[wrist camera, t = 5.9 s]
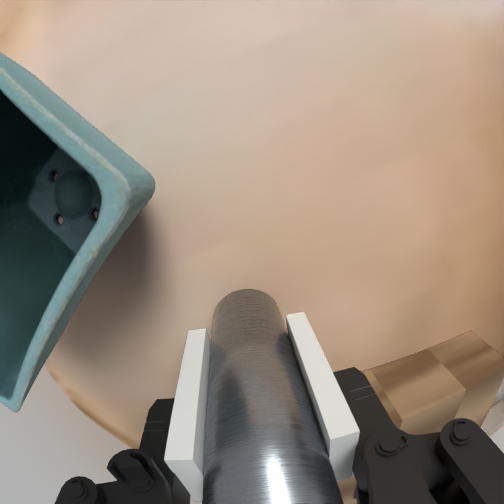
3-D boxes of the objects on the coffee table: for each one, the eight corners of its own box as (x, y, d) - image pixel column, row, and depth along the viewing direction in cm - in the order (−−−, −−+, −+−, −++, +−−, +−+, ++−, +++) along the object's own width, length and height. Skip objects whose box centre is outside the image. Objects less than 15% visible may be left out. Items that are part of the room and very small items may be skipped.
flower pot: (73, 76, 11) (-44, 24, 3) (195, 175, 13) (141, 192, 5) (-2, 208, 12) (-114, 251, 4) (98, 305, 15) (17, 418, 6)
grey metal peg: (206, 295, 14) (177, 601, 2) (276, 283, 14) (383, 576, 2) (220, 351, 15) (224, 607, 3) (284, 341, 15) (357, 588, 3)
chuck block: (303, 386, 17) (323, 445, 12) (540, 292, 18) (572, 311, 13) (308, 482, 21) (319, 522, 17) (506, 393, 22) (527, 415, 18)
